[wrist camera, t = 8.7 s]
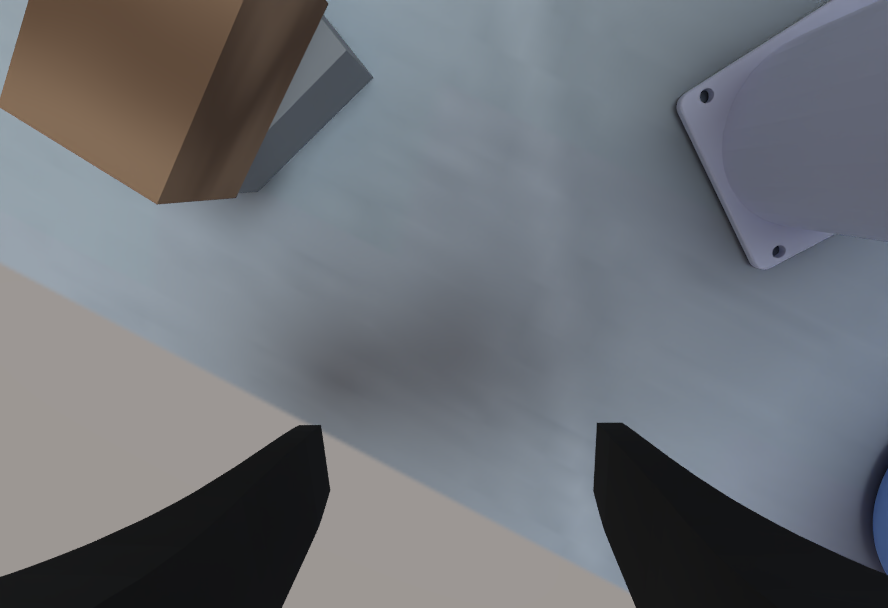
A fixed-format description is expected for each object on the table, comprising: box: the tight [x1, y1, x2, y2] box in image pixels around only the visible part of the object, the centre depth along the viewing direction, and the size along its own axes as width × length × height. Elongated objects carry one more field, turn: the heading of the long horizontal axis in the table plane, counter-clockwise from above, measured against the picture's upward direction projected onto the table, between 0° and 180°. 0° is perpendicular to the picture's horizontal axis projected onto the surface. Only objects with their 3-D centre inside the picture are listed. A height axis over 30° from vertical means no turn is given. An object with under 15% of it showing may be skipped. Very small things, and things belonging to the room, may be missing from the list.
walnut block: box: [0, 0, 328, 204], centre depth 12 cm, size 7×4×4 cm, turn 147°
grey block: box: [238, 15, 373, 193], centre depth 16 cm, size 7×4×4 cm, turn 130°
